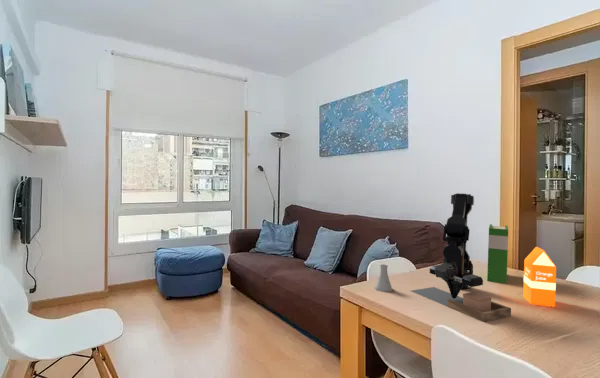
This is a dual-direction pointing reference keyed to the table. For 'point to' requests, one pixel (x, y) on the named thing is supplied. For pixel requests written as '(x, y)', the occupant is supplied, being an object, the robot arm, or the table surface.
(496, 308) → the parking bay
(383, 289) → the flask
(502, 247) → the hardback book
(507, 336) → the table surface
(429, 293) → the runner mat
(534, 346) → the table surface
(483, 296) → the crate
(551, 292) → the orange juice
